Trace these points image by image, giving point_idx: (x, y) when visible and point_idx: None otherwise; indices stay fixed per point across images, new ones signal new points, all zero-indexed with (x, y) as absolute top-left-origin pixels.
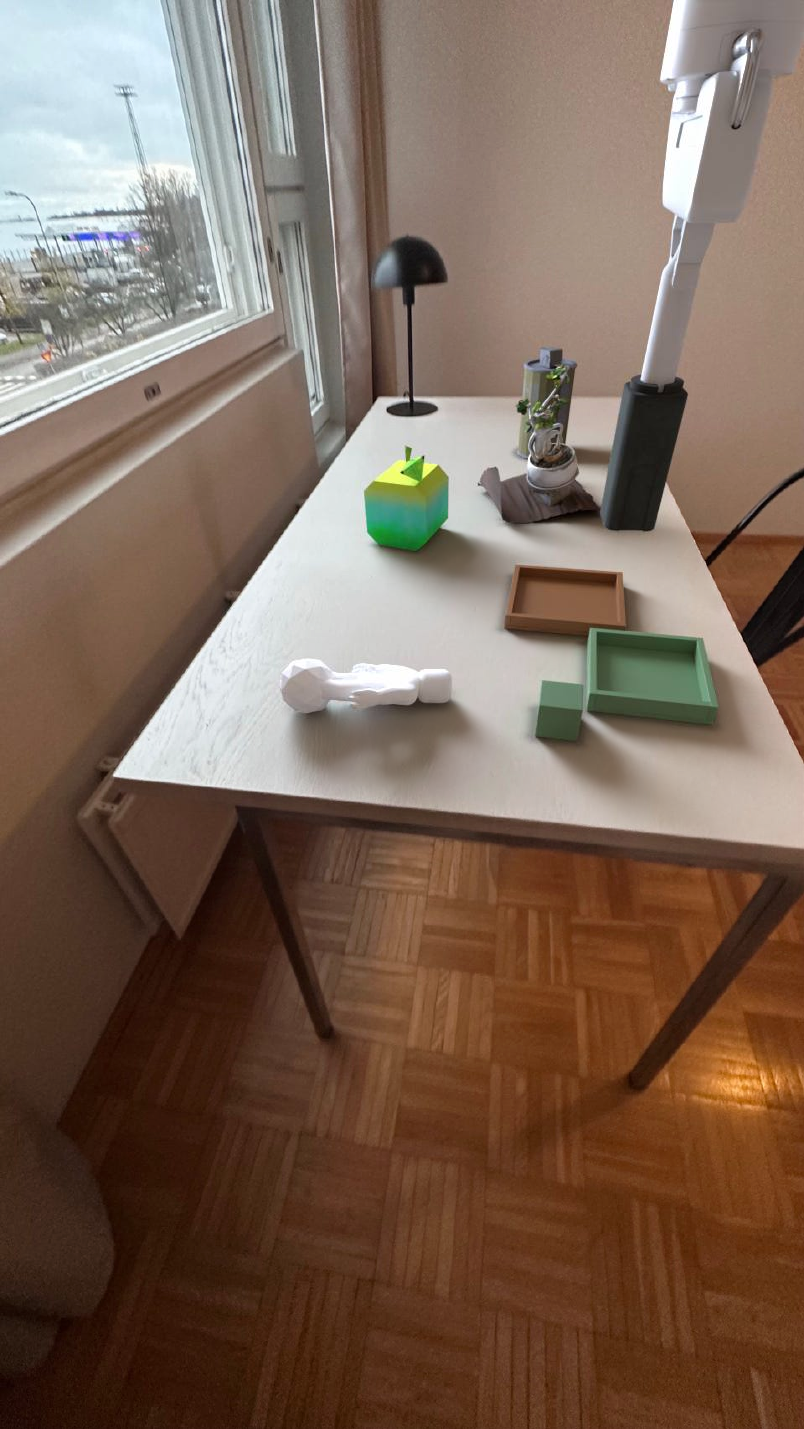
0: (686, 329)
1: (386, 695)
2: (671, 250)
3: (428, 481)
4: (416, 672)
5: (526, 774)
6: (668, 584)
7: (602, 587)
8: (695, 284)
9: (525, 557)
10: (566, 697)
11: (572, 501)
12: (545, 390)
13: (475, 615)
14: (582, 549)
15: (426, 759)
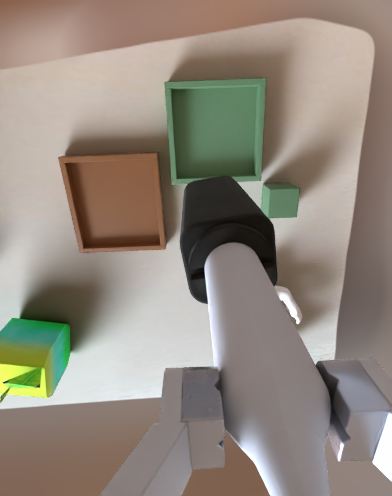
0: (254, 283)
1: (296, 305)
2: (183, 488)
3: (20, 359)
4: None
5: (322, 210)
6: (43, 105)
7: (80, 173)
8: (377, 363)
9: (44, 243)
10: (286, 200)
11: None
12: None
13: (153, 266)
14: (4, 194)
15: (312, 265)
